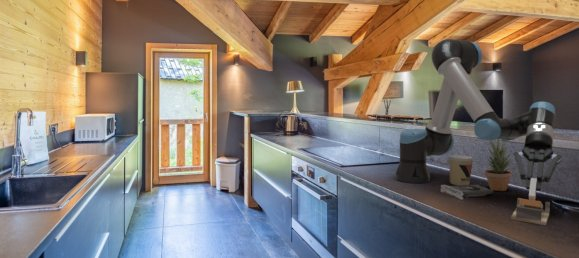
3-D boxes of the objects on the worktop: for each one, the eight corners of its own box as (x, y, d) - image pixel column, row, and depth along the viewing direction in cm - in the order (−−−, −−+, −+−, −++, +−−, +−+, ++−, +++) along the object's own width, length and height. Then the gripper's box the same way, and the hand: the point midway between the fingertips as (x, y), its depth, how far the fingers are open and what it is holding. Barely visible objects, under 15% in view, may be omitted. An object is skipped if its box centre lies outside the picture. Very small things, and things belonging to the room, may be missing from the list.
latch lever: (523, 201, 112) (519, 198, 104) (543, 204, 109) (540, 201, 101) (523, 207, 112) (519, 204, 104) (543, 210, 109) (540, 207, 101)
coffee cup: (462, 187, 145) (463, 159, 143) (443, 182, 153) (444, 155, 152) (476, 184, 149) (477, 157, 148) (457, 179, 157) (458, 154, 156)
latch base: (517, 208, 114) (518, 196, 114) (549, 213, 108) (550, 201, 108) (511, 219, 103) (511, 206, 103) (545, 225, 98) (546, 211, 98)
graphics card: (460, 192, 124) (440, 184, 136) (460, 202, 125) (439, 193, 137) (500, 190, 128) (477, 182, 139) (500, 200, 128) (476, 191, 140)
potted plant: (479, 187, 144) (479, 129, 142) (496, 185, 146) (496, 128, 145) (500, 193, 134) (500, 130, 133) (518, 190, 137) (519, 129, 136)
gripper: (515, 131, 118) (505, 188, 107) (563, 132, 110) (559, 194, 98) (516, 145, 123) (507, 201, 111) (563, 147, 114) (559, 208, 102)
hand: (531, 198), depth 104 cm, fingers closed
